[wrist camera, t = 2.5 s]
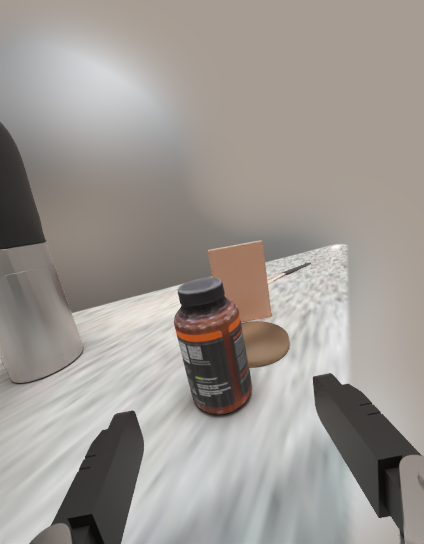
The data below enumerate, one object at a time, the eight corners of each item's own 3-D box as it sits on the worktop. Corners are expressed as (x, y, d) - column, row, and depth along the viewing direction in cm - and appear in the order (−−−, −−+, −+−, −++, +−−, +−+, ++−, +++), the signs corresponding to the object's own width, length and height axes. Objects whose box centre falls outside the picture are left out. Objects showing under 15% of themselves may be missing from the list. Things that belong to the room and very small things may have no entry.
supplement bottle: (244, 366, 25) (228, 269, 23) (260, 409, 19) (241, 286, 17) (192, 377, 25) (169, 281, 22) (192, 425, 19) (162, 302, 16)
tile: (271, 316, 35) (262, 241, 33) (221, 325, 35) (208, 251, 33) (269, 313, 37) (260, 240, 34) (221, 322, 37) (207, 250, 34)
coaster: (204, 348, 30) (203, 342, 30) (250, 320, 35) (249, 316, 35) (256, 379, 23) (255, 372, 23) (303, 339, 28) (303, 333, 28)
